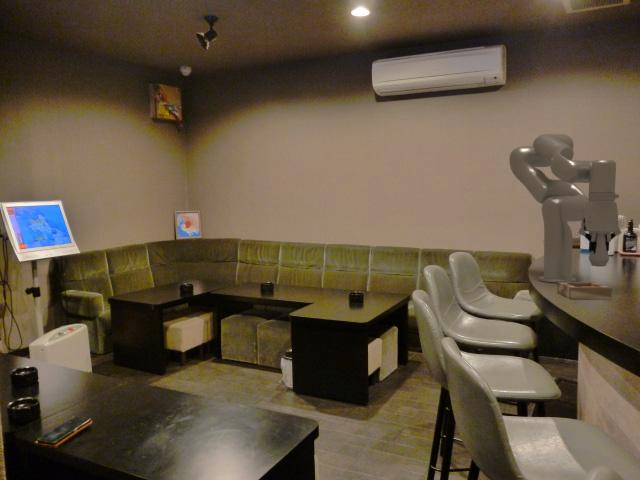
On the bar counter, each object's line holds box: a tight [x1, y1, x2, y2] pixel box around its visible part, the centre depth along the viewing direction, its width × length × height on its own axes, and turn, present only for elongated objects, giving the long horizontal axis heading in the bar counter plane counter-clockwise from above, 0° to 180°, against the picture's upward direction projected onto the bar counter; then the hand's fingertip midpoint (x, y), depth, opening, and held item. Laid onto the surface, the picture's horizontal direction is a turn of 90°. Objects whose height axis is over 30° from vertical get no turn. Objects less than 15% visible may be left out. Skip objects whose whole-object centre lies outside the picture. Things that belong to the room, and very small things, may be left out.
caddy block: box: [557, 281, 613, 301], centre depth 158 cm, size 12×11×4 cm
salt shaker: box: [588, 230, 610, 268], centre depth 168 cm, size 6×6×13 cm
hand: (598, 253), depth 168 cm, fingers closed on salt shaker, 3 cm apart
